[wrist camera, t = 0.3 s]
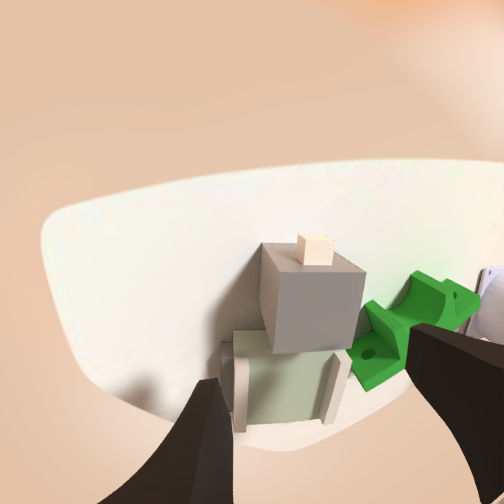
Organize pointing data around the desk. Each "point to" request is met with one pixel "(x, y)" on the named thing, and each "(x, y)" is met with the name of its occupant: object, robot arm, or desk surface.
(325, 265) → the dark grey block
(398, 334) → the pipe clamp
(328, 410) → the pale grey-green blocky piece
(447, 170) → the desk surface
